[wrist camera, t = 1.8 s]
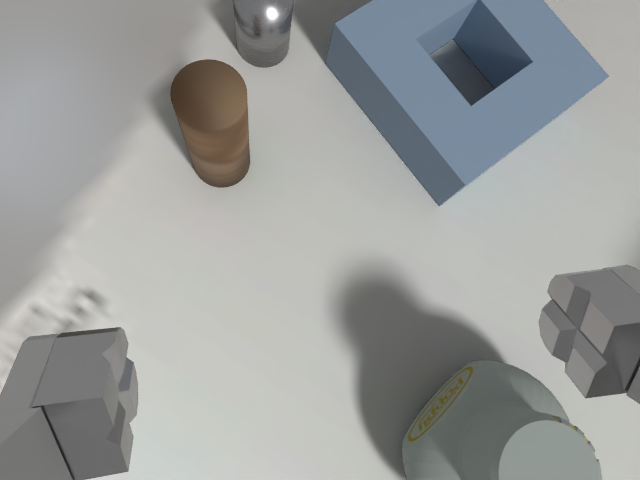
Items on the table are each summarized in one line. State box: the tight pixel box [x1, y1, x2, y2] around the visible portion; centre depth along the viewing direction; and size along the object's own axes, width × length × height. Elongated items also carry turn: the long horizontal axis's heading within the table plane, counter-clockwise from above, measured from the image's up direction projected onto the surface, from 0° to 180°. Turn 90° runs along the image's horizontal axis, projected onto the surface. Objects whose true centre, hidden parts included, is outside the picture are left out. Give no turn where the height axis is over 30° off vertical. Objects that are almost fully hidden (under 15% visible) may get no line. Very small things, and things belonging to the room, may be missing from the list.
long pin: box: [171, 60, 250, 187], centre depth 33 cm, size 4×4×10 cm
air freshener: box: [402, 360, 602, 480], centre depth 30 cm, size 11×8×10 cm
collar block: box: [325, 0, 609, 206], centre depth 38 cm, size 14×14×5 cm
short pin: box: [233, 0, 294, 67], centre depth 37 cm, size 4×4×6 cm
